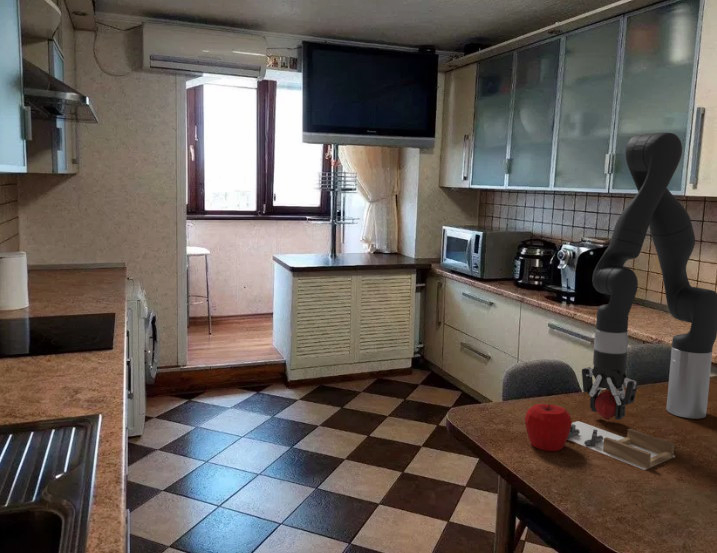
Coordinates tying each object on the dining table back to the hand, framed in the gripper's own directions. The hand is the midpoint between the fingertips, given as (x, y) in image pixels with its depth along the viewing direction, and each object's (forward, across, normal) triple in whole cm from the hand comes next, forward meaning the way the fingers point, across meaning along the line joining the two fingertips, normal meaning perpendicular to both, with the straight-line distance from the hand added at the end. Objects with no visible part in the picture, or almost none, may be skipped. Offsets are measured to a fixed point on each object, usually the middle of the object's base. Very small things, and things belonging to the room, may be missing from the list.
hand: (606, 414), depth 149 cm
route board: (+3, -8, +13) cm, 15 cm away
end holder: (+2, -15, +12) cm, 19 cm away
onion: (+1, 0, 0) cm, 1 cm away
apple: (+3, -1, +24) cm, 24 cm away
